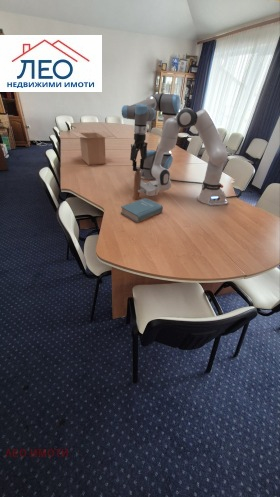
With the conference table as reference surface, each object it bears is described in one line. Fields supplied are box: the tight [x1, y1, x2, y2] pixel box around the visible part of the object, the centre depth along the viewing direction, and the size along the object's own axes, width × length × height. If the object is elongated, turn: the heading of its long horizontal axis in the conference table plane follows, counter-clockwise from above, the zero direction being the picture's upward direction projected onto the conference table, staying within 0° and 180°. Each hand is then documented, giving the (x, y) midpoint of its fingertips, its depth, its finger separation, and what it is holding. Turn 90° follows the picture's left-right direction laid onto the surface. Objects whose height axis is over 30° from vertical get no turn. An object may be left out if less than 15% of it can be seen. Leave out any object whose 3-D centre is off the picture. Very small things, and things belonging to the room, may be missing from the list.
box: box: [70, 129, 114, 166], centre depth 229 cm, size 44×36×27 cm
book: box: [120, 197, 164, 223], centre depth 146 cm, size 23×16×5 cm
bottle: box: [132, 171, 142, 200], centre depth 160 cm, size 5×5×22 cm
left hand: (138, 169), depth 154 cm, fingers open, 6 cm apart
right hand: (135, 189), depth 162 cm, fingers closed on bottle, 5 cm apart
